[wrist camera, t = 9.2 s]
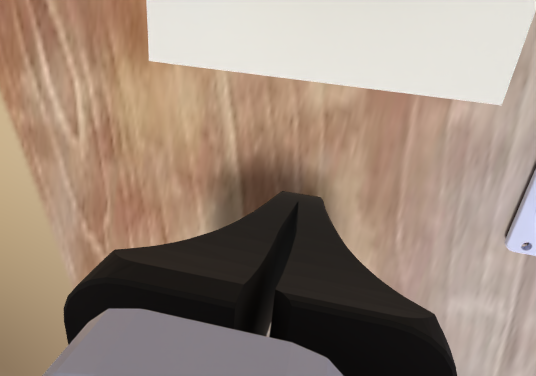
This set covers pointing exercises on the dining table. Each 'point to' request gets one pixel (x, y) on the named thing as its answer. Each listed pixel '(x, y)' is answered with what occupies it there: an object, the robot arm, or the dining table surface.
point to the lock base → (351, 42)
